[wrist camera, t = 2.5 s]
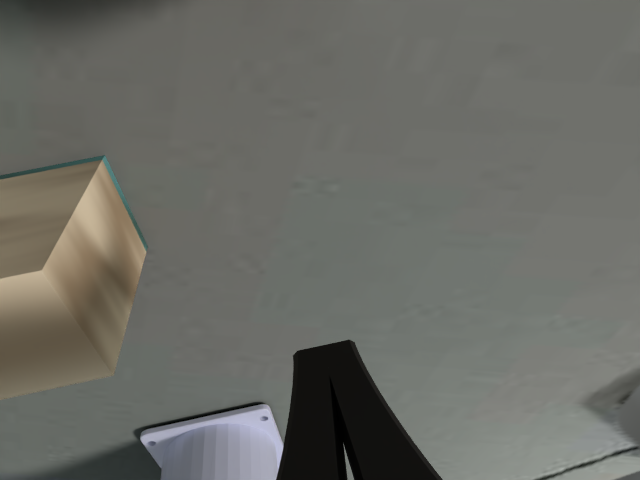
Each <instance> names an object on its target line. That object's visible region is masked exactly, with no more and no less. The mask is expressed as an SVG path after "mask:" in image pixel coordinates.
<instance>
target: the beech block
mask: <svg viewBox="0 0 640 480" xmlns="http://www.w3.org/2000/svg"><path fill="white" fill-rule="evenodd" d="M147 248H148V246H147V244H146V242H145V240H144V238H143V236H142V233H141V231H140V229H139V227H138V225H137V223H136V221H135V219H134V216H133V214H132V212H131V210H130V208H129V206H128V204H127V202H126V199H125V197H124V195H123V193H122V191H121V189H120V187H119V185H118V183H117V180H116V178H115V176H114V174H113V172H112V170H111V168H110V166H109V163H108V161H107V159H106V157H105V155H104V156H99V157H94V158H89V159H83V160H78V161H73V162H68V163H63V164H58V165H53V166H47V167H42V168H37V169H32V170H27V171H22V172H16V173H11V174H6V175H1V176H0V400H2V399H7V398H11V397H16V396H21V395H25V394H30V393H35V392H39V391H44V390H49V389H53V388H58V387H63V386H67V385H72V384H77V383H81V382H86V381H91V380H95V379H100V378H105V377H109V376H114V372H115V368H116V364H117V361H118V357H119V353H120V349H121V346H122V342H123V338H124V334H125V330H126V327H127V323H128V319H129V315H130V312H131V308H132V304H133V300H134V297H135V293H136V289H137V285H138V281H139V278H140V274H141V270H142V266H143V263H144V259H145V255H146V251H147Z"/></svg>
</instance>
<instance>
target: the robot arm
mask: <svg viewBox="0 0 640 480" xmlns="http://www.w3.org/2000/svg"><path fill="white" fill-rule="evenodd" d="M293 360H294V371H293V387H292V396H291V404H290V412H289V418H288V424H287V429H286V435H285V441H284V445H283V442H282V440H281V437H280V434H279V431H278V429H277V426H276V423H275V420H274V418H273V415H272V412H271V409H270V407H269V406H268V405H266V404H260V405H255V406H251V407H246V408H242V409H237V410H233V411H228V412H224V413H219V414H214V415H210V416H205V417H201V418H196V419H192V420H187V421H183V422H178V423H173V424H169V425H164V426H160V427H155V428H151V429H146V430H144V431H143V432H141V436H140V440H141V442H142V443H143V444H144V446H145V447H146V449H147V450H148V451H149V453H150V454H151V455H152V457H153V458H154V460H155V461H156V462H157V464H158V465H159V467H160V468H161V469H162V472H161V480H347V471H346V463H345V454H344V446H345V450H346V453H347V456H348V460H349V463H350V467H351V470H352V473H353V477H354V480H442V478H441V477H440V476H439V475H438V473H437V472H436V471H435V470H434V468H433V467H432V466H431V464H430V463H429V462H428V461H427V459H426V458H425V457H424V455H423V454H422V453H421V451H420V450H419V449H418V447H417V446H416V445H415V443H414V442H413V441H412V439H411V438H410V436H409V435H408V434H407V432H406V431H405V429H404V428H403V426H402V425H401V424H400V422H399V421H398V419H397V418H396V416H395V415H394V413H393V412H392V410H391V409H390V407H389V406H388V404H387V403H386V401H385V399H384V398H383V396H382V395H381V393H380V391H379V390H378V388H377V386H376V385H375V383H374V381H373V379H372V378H371V376H370V374H369V372H368V371H367V369H366V367H365V365H364V363H363V361H362V359H361V357H360V355H359V352H358V350H357V348H356V345H355V342H353V341H351V340H346V341H341V342H337V343H332V344H327V345H323V346H318V347H313V348H309V349H304V350H299V351H297V352H296V353H295V354H294V355H293ZM343 443H344V446H343Z"/></svg>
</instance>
